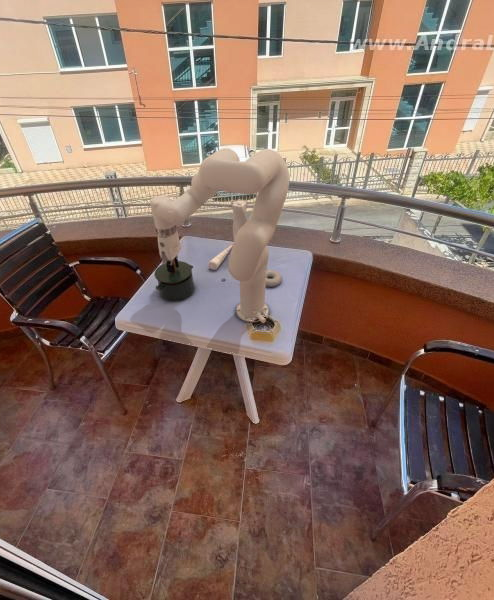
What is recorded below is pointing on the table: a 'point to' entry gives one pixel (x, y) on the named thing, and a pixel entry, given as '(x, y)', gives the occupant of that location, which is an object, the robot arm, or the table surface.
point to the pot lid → (169, 277)
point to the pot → (177, 289)
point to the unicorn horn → (218, 259)
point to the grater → (238, 215)
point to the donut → (275, 276)
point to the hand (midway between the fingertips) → (173, 269)
